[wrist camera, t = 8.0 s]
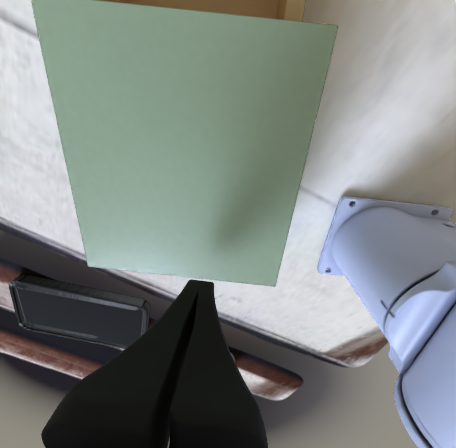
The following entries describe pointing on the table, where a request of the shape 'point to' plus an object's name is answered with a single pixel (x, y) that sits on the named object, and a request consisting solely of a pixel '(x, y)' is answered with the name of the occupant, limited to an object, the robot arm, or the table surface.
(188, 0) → the drawer
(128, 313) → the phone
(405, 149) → the table surface
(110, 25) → the cabinet
